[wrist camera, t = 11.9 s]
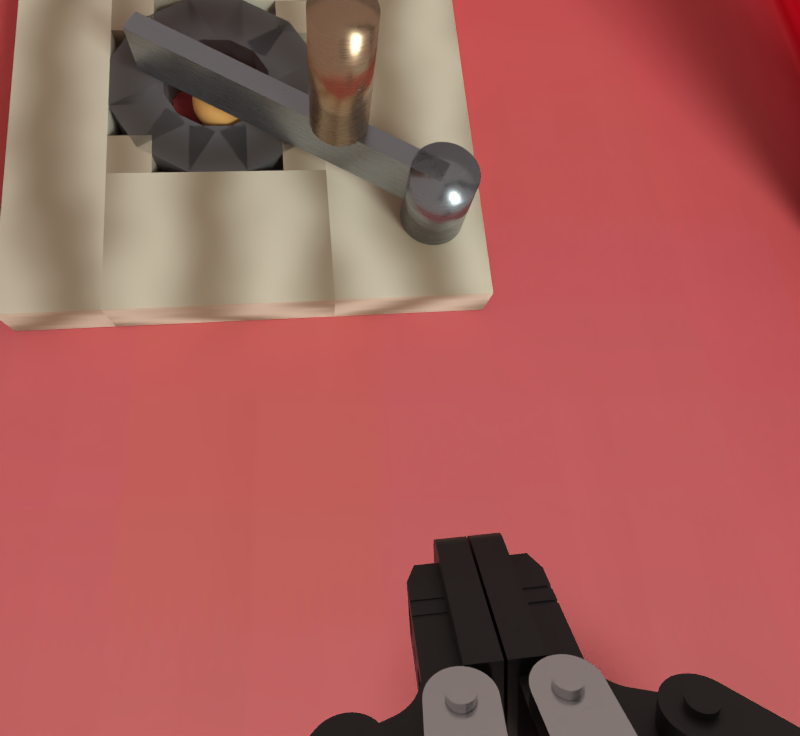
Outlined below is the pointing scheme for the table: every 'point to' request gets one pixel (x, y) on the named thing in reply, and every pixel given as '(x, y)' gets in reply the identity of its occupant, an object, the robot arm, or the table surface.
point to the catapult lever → (323, 109)
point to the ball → (212, 114)
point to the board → (216, 177)
